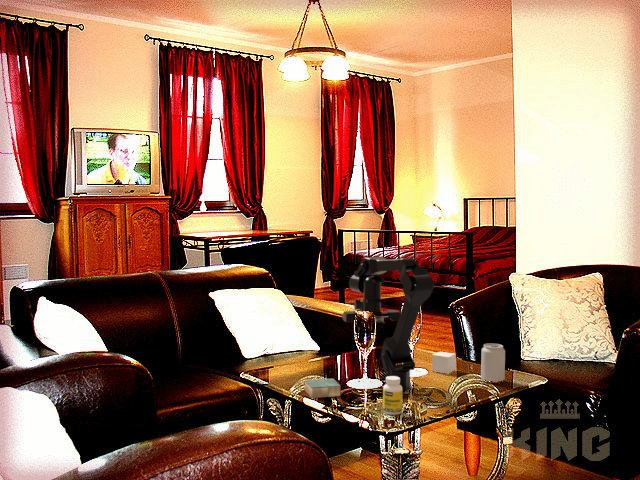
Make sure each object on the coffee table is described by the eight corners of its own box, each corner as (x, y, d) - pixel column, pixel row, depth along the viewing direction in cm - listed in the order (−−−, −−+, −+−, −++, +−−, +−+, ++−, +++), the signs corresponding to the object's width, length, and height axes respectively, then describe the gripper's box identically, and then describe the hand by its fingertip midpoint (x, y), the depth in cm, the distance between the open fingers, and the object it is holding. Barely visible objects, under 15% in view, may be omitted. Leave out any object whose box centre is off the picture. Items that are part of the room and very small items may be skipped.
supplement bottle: (382, 414, 191) (382, 379, 190) (383, 408, 196) (383, 374, 196) (401, 415, 190) (402, 380, 189) (402, 409, 195) (402, 375, 195)
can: (506, 379, 226) (507, 343, 225) (502, 385, 220) (503, 348, 219) (483, 377, 229) (484, 341, 229) (478, 382, 223) (479, 346, 222)
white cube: (431, 372, 236) (432, 354, 236) (439, 368, 241) (439, 351, 241) (448, 374, 233) (448, 357, 232) (455, 370, 238) (455, 353, 237)
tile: (332, 378, 216) (304, 380, 213) (340, 385, 208) (311, 387, 206) (332, 389, 216) (304, 391, 214) (340, 396, 208) (311, 399, 206)
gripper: (392, 290, 236) (391, 335, 237) (339, 292, 232) (338, 337, 233) (402, 295, 225) (401, 343, 226) (346, 297, 221) (346, 345, 223)
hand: (371, 341), depth 227 cm, fingers closed
